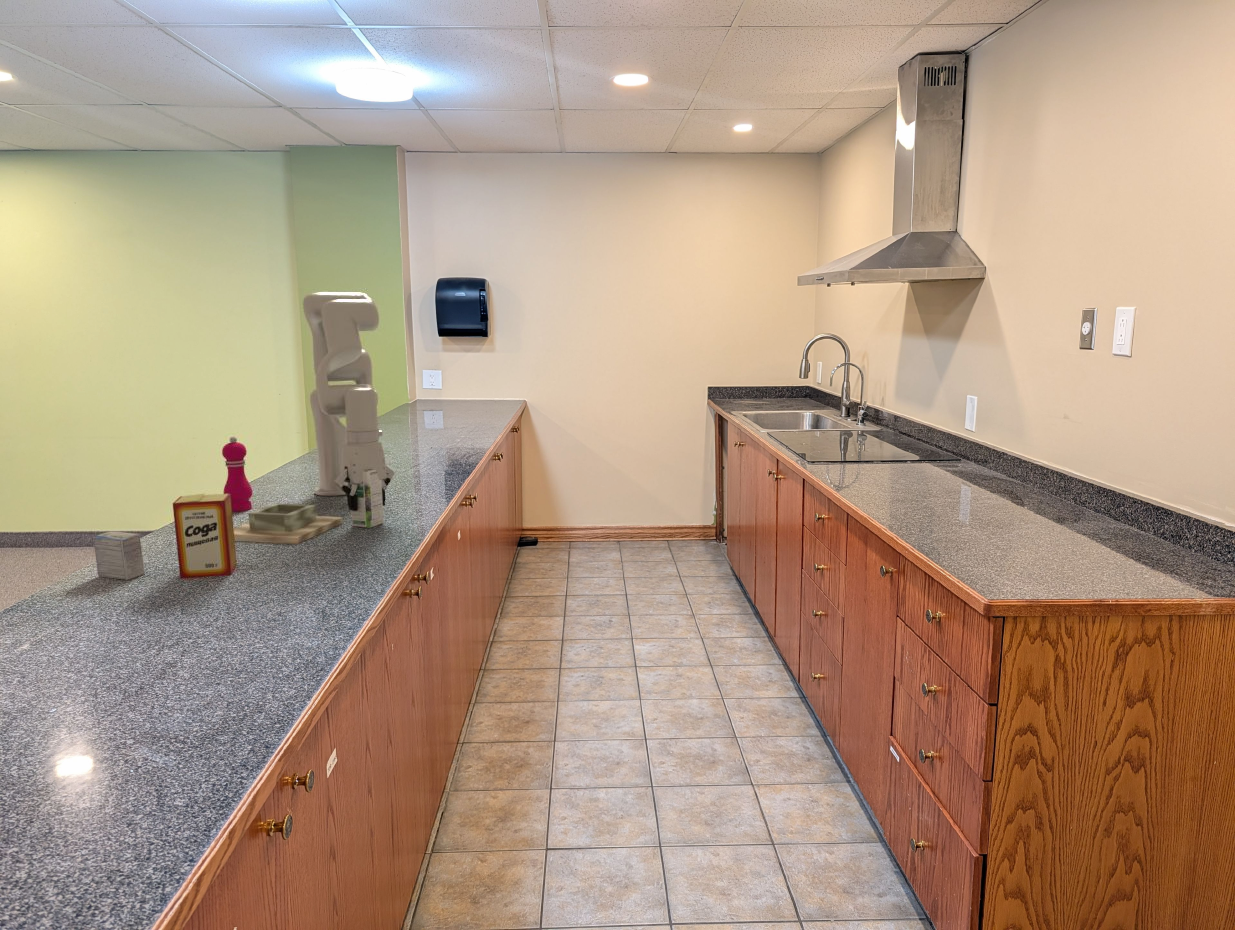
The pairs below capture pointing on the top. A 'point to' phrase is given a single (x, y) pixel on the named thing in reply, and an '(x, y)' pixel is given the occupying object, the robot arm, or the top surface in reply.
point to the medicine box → (118, 555)
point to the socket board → (285, 524)
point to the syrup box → (368, 501)
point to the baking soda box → (204, 535)
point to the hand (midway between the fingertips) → (367, 506)
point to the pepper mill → (237, 476)
